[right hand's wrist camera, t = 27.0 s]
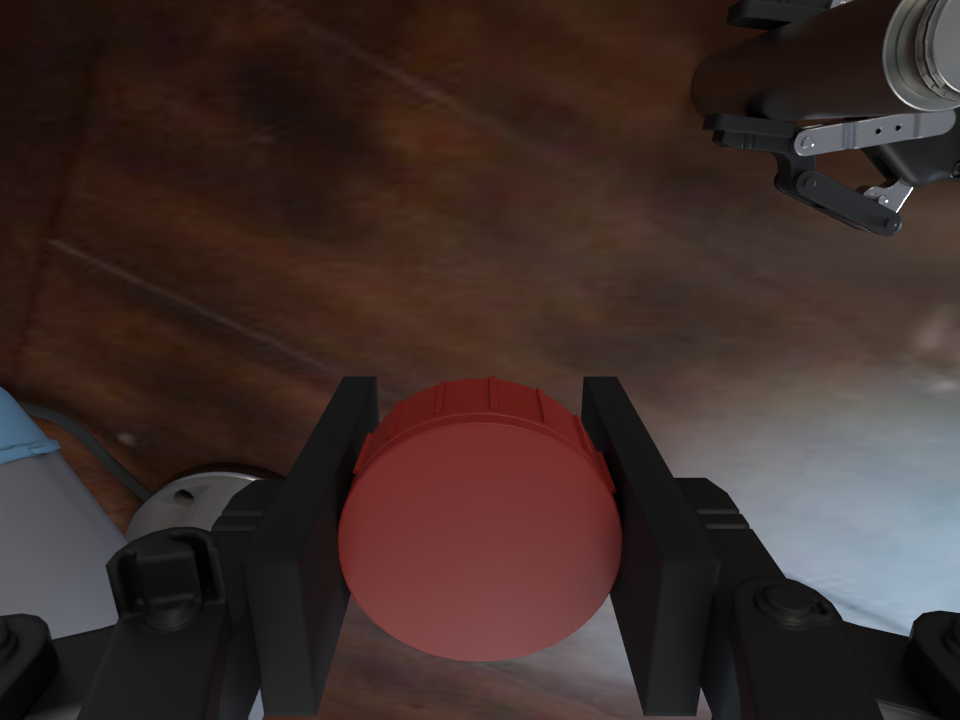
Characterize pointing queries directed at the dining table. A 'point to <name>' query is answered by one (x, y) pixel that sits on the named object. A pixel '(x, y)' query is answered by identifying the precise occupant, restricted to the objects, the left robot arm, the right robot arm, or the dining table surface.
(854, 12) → the black bottle
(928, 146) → the left robot arm
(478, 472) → the lid
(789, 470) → the dining table surface
